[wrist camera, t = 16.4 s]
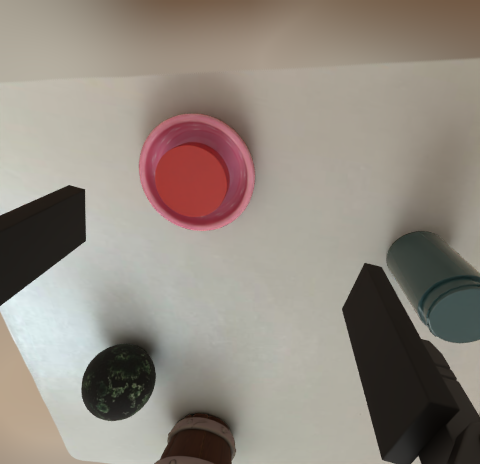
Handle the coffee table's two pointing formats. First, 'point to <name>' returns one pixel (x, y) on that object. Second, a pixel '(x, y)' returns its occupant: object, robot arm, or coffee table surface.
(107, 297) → the coffee table surface
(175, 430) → the flowerpot
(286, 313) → the coffee table surface
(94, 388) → the decorative stone
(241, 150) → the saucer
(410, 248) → the lidded canister
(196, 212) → the jam lid
